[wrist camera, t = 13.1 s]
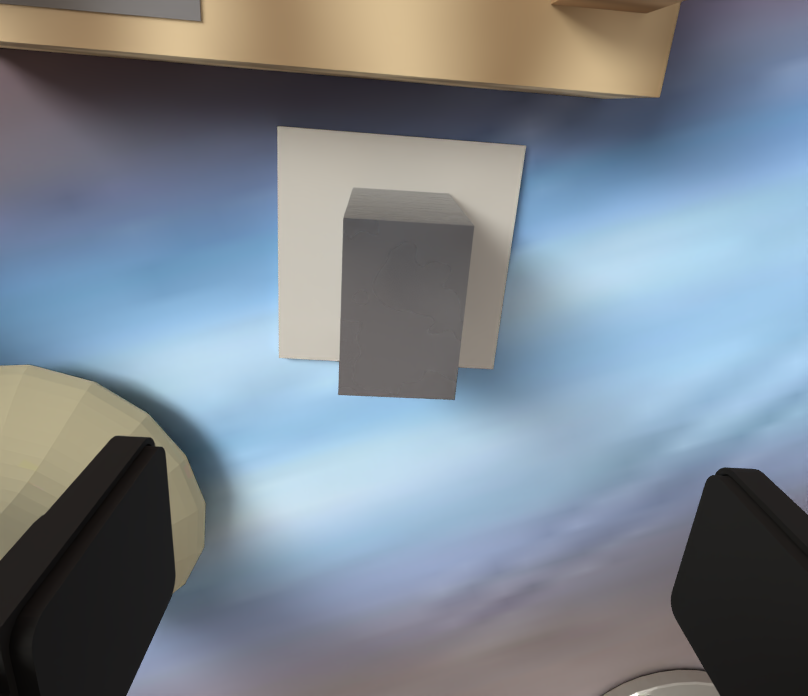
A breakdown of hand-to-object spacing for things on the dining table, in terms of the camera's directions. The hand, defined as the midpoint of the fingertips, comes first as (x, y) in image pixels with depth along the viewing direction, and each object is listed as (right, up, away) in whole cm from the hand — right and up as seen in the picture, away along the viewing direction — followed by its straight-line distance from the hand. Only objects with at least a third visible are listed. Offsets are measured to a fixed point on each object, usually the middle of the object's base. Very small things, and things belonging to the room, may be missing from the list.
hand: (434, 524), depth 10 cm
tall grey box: (-1, +7, +15) cm, 17 cm away
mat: (-1, +7, +16) cm, 17 cm away
